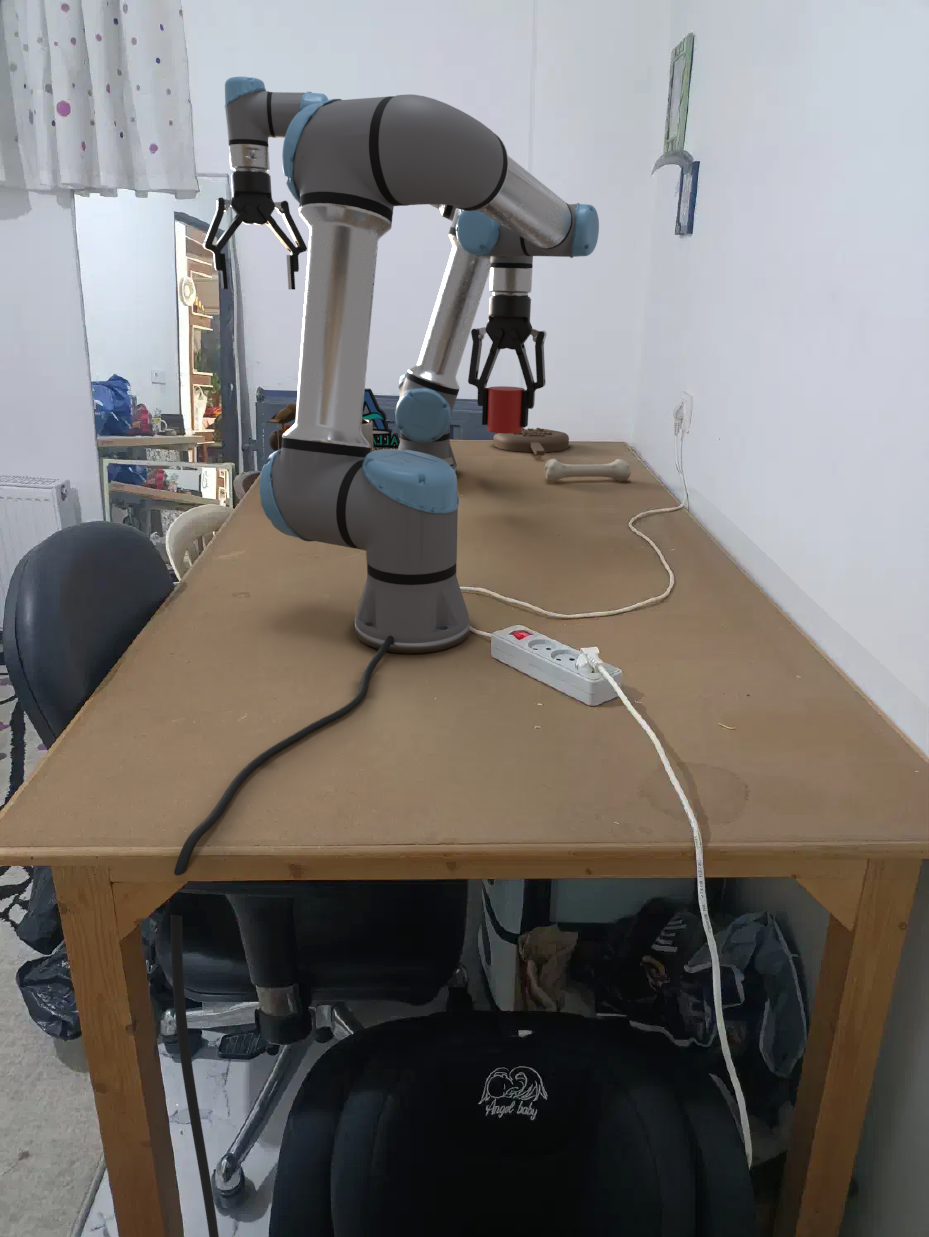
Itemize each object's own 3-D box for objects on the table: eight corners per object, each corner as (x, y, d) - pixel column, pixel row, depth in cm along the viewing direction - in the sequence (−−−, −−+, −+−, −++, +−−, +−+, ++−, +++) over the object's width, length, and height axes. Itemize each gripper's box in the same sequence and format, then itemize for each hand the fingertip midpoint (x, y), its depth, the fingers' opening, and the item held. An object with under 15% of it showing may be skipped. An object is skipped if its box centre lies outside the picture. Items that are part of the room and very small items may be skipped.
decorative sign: (401, 445, 233) (400, 389, 227) (399, 446, 230) (399, 390, 225) (333, 443, 234) (330, 387, 228) (331, 445, 231) (328, 388, 226)
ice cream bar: (499, 460, 215) (500, 444, 214) (491, 440, 241) (491, 425, 240) (581, 461, 216) (582, 444, 215) (564, 441, 242) (565, 426, 241)
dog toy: (623, 476, 201) (625, 455, 199) (632, 482, 195) (634, 461, 193) (540, 478, 198) (541, 457, 196) (547, 484, 192) (548, 462, 190)
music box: (312, 509, 169) (298, 407, 161) (260, 512, 170) (243, 411, 162) (332, 491, 183) (320, 396, 175) (283, 493, 184) (269, 399, 176)
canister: (516, 434, 156) (518, 391, 153) (482, 431, 158) (483, 389, 155) (526, 429, 162) (528, 387, 159) (493, 426, 164) (494, 385, 161)
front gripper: (568, 296, 152) (559, 425, 160) (461, 293, 156) (459, 419, 165) (562, 296, 145) (553, 431, 154) (451, 293, 150) (449, 424, 158)
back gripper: (186, 166, 156) (198, 289, 164) (318, 174, 166) (323, 290, 174) (181, 169, 162) (192, 288, 170) (308, 177, 172) (313, 289, 180)
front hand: (504, 425), depth 159 cm, fingers closed on canister, 7 cm apart
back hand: (258, 289), depth 172 cm, fingers open, 13 cm apart
